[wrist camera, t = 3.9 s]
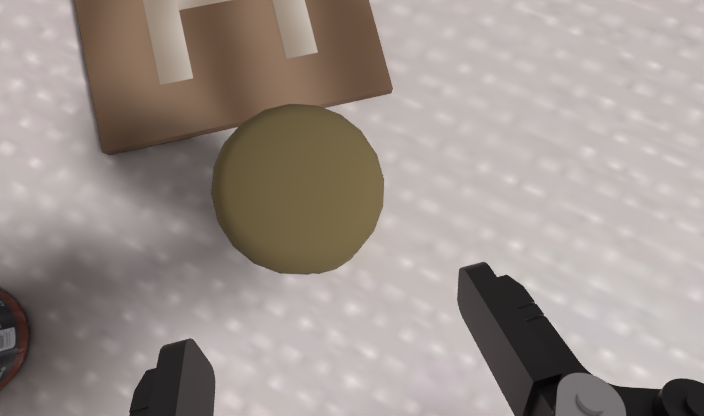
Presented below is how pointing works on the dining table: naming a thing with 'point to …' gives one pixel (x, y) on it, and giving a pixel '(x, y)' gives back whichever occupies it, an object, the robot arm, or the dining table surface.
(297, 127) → the olive pawn figure
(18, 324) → the supplement bottle
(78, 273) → the dining table surface
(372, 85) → the board
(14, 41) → the dining table surface
